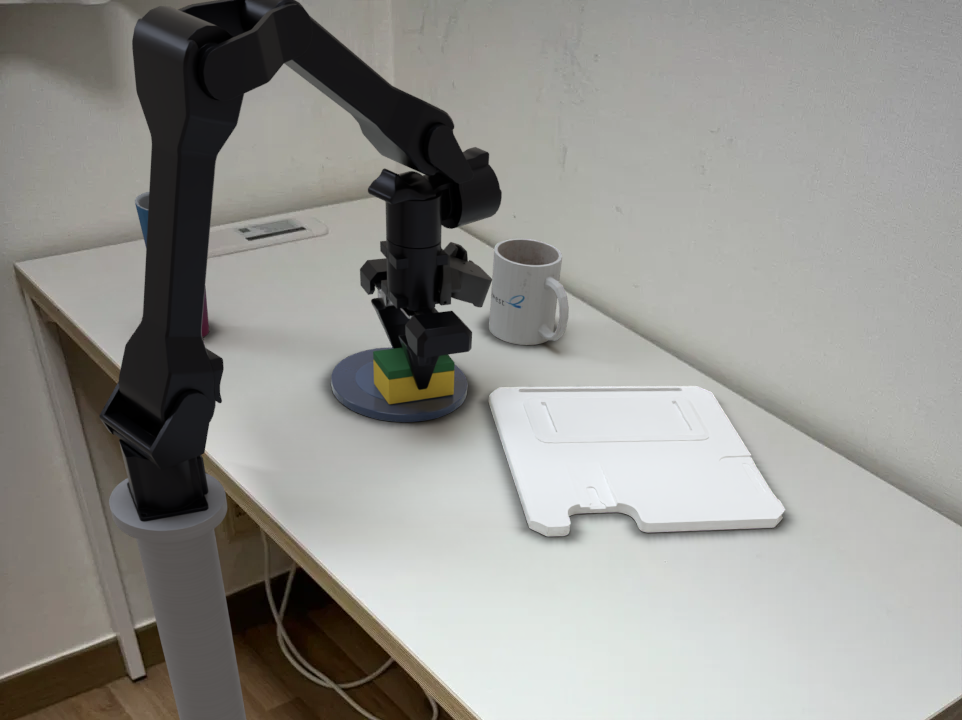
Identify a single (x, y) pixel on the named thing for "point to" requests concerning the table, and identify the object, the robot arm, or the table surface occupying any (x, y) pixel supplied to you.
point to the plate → (363, 397)
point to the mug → (527, 292)
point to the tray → (630, 458)
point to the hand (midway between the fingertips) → (414, 378)
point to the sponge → (409, 377)
